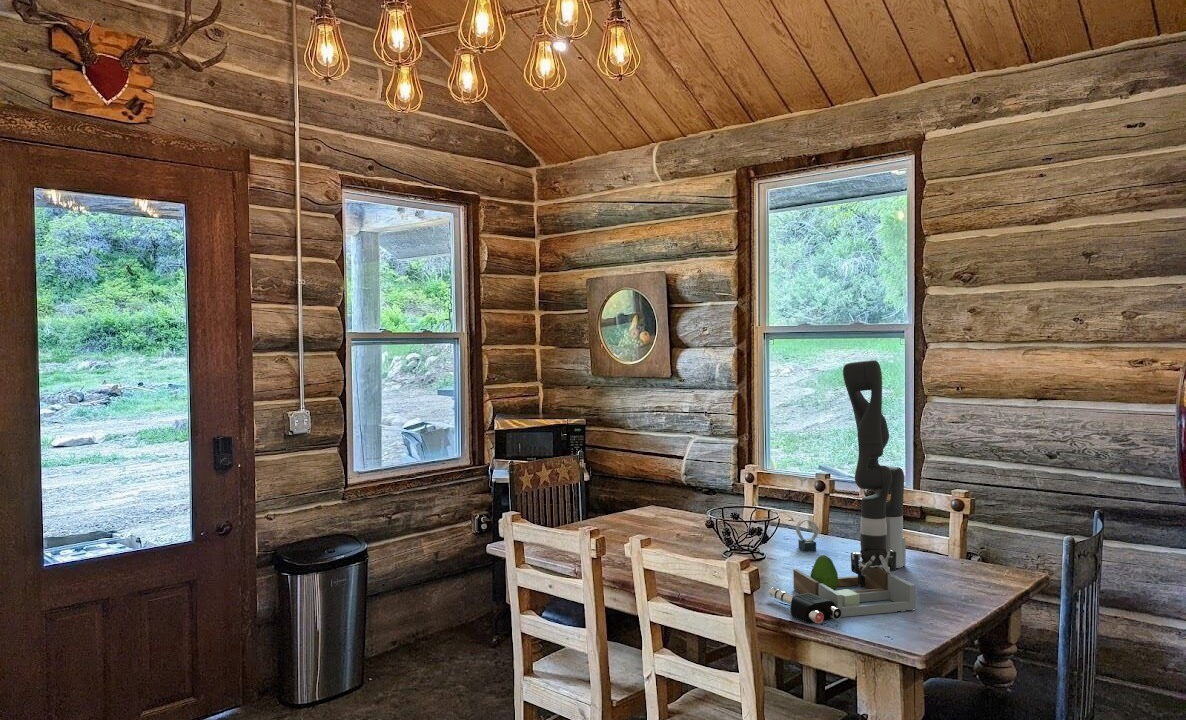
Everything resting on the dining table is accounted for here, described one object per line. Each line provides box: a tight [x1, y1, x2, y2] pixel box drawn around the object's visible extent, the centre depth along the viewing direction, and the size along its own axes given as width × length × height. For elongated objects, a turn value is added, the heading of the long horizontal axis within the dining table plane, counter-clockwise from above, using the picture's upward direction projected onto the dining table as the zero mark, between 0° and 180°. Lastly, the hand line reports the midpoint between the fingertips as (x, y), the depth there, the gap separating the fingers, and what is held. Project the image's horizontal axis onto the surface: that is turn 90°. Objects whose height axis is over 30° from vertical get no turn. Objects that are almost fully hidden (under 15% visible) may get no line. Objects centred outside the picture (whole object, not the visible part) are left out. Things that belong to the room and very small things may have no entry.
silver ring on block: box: [795, 518, 820, 553], centre depth 293 cm, size 6×8×11 cm
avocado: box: [809, 554, 839, 591], centre depth 241 cm, size 8×8×12 cm
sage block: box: [835, 588, 861, 607], centre depth 228 cm, size 5×5×5 cm
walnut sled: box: [792, 560, 891, 596], centre depth 242 cm, size 24×14×7 cm, turn 102°
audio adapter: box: [767, 587, 842, 625], centre depth 227 cm, size 11×5×25 cm
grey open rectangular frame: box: [818, 573, 916, 618], centre depth 229 cm, size 24×11×7 cm, turn 102°
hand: (873, 586), depth 244 cm, fingers open, 7 cm apart
